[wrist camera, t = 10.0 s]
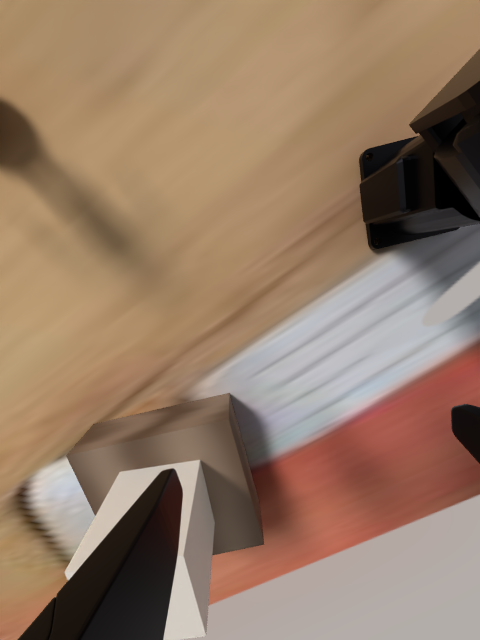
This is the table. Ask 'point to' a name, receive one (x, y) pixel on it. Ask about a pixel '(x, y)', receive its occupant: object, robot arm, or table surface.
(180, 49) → the table surface
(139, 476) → the off-white cube
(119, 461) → the walnut slab
